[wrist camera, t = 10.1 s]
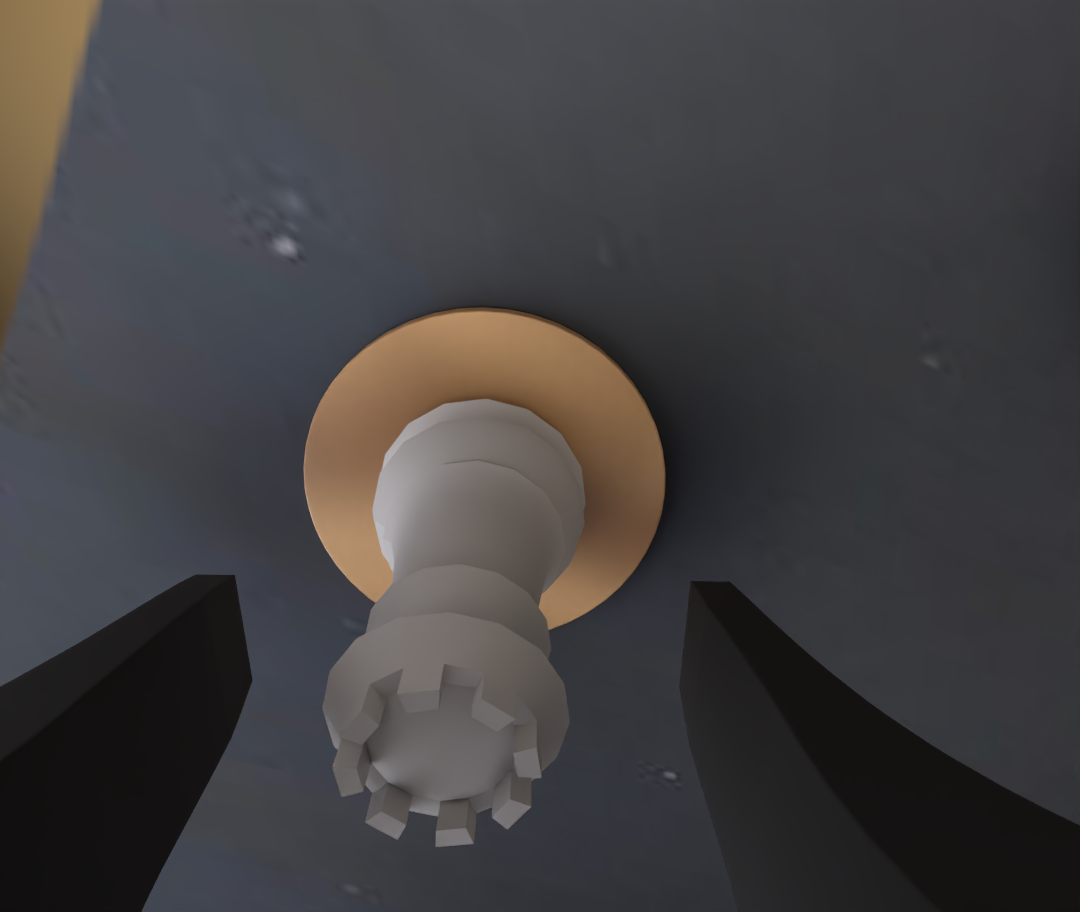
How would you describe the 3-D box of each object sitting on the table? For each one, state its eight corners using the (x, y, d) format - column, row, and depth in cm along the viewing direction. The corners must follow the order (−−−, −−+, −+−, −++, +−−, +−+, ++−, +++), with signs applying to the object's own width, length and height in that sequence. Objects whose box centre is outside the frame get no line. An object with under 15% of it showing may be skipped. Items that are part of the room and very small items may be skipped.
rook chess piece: (383, 568, 17) (264, 891, 10) (380, 383, 15) (234, 605, 8) (575, 579, 17) (602, 907, 10) (594, 398, 15) (644, 630, 8)
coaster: (650, 631, 18) (651, 641, 18) (326, 627, 18) (321, 638, 18) (678, 309, 15) (682, 314, 15) (287, 303, 15) (281, 307, 15)
